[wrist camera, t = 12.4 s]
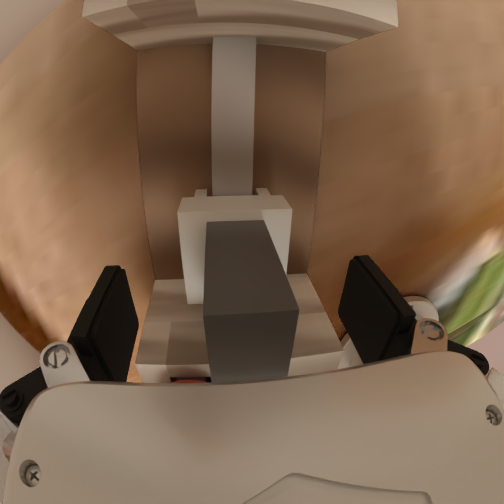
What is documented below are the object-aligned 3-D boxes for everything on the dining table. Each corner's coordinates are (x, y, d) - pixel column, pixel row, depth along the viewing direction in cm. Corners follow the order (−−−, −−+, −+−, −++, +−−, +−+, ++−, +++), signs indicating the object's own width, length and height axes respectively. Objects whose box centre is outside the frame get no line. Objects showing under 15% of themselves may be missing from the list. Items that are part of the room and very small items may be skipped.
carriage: (272, 266, 18) (314, 394, 10) (191, 269, 17) (181, 405, 9) (277, 187, 15) (346, 290, 7) (184, 190, 15) (151, 301, 7)
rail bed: (295, 305, 22) (327, 393, 15) (166, 311, 21) (154, 406, 14) (317, 1, 12) (389, -53, 4) (147, -2, 10) (100, -67, 3)
